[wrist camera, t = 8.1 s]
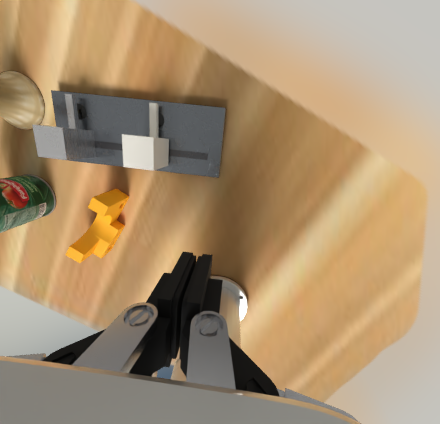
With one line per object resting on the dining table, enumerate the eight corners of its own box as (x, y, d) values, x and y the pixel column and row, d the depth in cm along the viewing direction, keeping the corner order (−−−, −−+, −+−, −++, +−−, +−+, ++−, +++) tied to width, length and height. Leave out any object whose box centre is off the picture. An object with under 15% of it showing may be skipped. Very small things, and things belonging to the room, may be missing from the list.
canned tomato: (18, 211, 39) (-62, 236, 28) (11, 170, 36) (-79, 181, 26) (58, 219, 39) (-7, 247, 28) (54, 178, 36) (-19, 193, 26)
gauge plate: (219, 176, 34) (214, 184, 27) (68, 158, 35) (25, 162, 28) (226, 109, 31) (222, 99, 23) (59, 92, 32) (8, 77, 24)
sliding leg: (168, 165, 32) (153, 170, 26) (143, 163, 32) (123, 167, 26) (169, 105, 29) (153, 96, 24) (142, 102, 29) (119, 93, 24)
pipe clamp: (111, 249, 40) (89, 268, 34) (91, 237, 40) (65, 254, 34) (138, 201, 37) (118, 213, 30) (117, 188, 36) (92, 197, 30)
